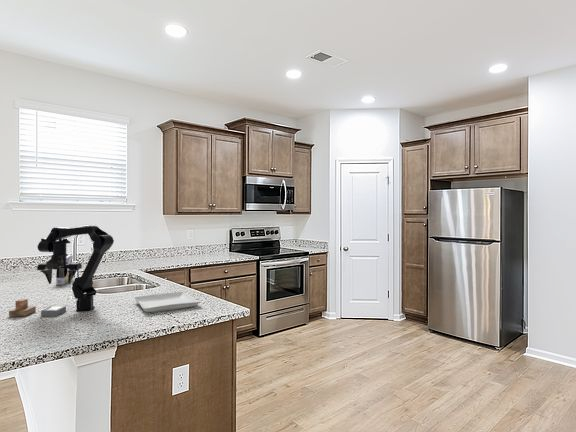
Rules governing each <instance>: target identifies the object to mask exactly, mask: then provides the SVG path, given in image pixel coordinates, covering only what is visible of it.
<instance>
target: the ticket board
mask: <svg viewBox="0 0 576 432" xmlns="http://www.w3.org/2000/svg"><path fill="white" fill-rule="evenodd" d="M65 312H67V306H66V305H63V306H62V305H61V306H60V305H58V306H53V305H51V306H48V307H46V308H44V309H42V310H41V311H40V317H58V316H60V315H62V314H64V313H65Z"/></svg>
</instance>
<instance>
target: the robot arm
mask: <svg viewBox="0 0 576 432" xmlns="http://www.w3.org/2000/svg"><path fill="white" fill-rule="evenodd" d="M79 235H81V236H82V235H88V236H89V239H90V240H91V241H92V247H93V250H92V253H91V256H90V257H89V259H88V261H87V264H86V266H85V268H84V270H83V272H82V275H81V276H78V277H75V275H76V273H77V271H79V270H80V269H82V268H83V266H82V264H81V262H73V263H71V264H69V265H66V264H68V262H66V256H68V255H69V254H68V253H67V244H71V241H70V240H69V239H68V238H71V237H73V236H79ZM114 242H115V240H114V237H113V236H112V235H111V234H109V233H108V232H106V231H105V230H103V229H101V228H100V227H98V226H97V225H88V226H82V227H67V226H65V227H64V226H62V227H61V226H59V227H58V226H57V227H52V228H51V230H50V233H48V235H47V237H46V238H44V237H43V238H41V239H40V241H39V242H38V244H37V250H38V251H39V253H40V252H41V253H52V254H51V256H50V259H49V260H48V261H47V262H43V263H42V262H41V263H38V265H37V267H36V270H37V271H39V272H40V273H43V274H44V276H45V278H46V280H47V282H48V284H49V285H51V284H52V281H53V280H52V279H53V271H56V270H57V269H58V268H68V269H69V270H68V273H69V277H68V282H67V284H68V285H70V284H71V286H72V287H71V290H72V294H73V296H74V299H76V301H75V303H76V305H75V306H76V307H75V308H76V309H75V312H83V311H84V312H85V311H86V312H88V311H91V310H93V309H94V308H96V307H95V306H94V296H96V295H97V290H96V288H94V287H93V284H94V282H93V277H94V276H95V274H96V272H97V269H98V267H99V265H100V263H101V261H102V259H103V257H104V255H105V253H106V252H108V251H109V250H110V249H111V248H112V247H113V245H114ZM62 266H64V267H62ZM74 277H75V278H74ZM73 279H74V281H73ZM72 281H73V283H72Z"/></svg>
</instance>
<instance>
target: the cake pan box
mask: <svg viewBox="0 0 576 432" xmlns="http://www.w3.org/2000/svg"><path fill="white" fill-rule="evenodd" d="M72 259H73V260H74V255H73V254H68V256H66V262H68V264H66V265H69V264H71V263H72ZM62 267H64V266H62ZM68 270H69V269H68V268H58V269H56V270H55V271H56V275H55V276H56V277H55V280H56V281H55V283H56V286H64V285H66V284H68V277H69V273H68Z"/></svg>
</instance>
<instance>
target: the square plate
mask: <svg viewBox="0 0 576 432" xmlns="http://www.w3.org/2000/svg"><path fill="white" fill-rule="evenodd" d="M133 300H135V301H136V302H137V303H138V304H139V305H140V307H141V308H142V310H143V311H144V312H147V313H150V312H151V313H156V312H167V311H172V310H181V309H186V308H193V307H195V306H197V305H198V304H200V301H199V300H197V298H194V297H193V296H191V295H190V294H188V293H186V291H178V292H177V291H176V292H165V293H164V292H163V293H156V294H148V295H140V296H134V297H133Z"/></svg>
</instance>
